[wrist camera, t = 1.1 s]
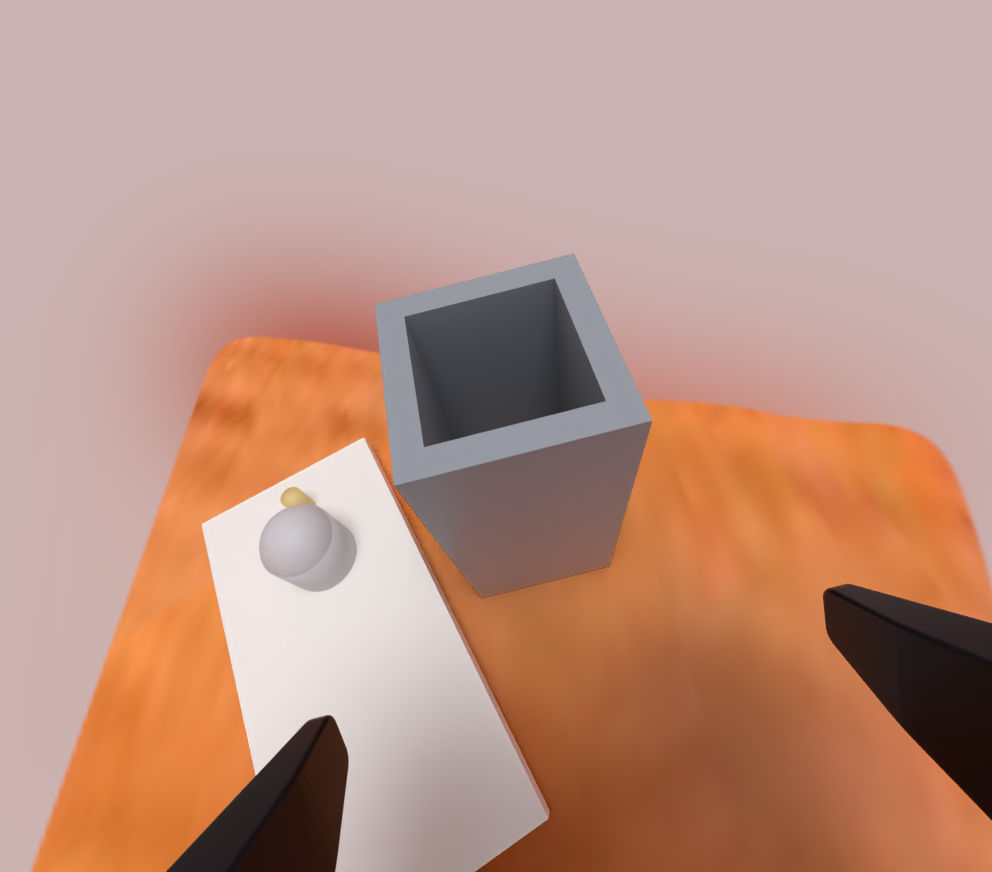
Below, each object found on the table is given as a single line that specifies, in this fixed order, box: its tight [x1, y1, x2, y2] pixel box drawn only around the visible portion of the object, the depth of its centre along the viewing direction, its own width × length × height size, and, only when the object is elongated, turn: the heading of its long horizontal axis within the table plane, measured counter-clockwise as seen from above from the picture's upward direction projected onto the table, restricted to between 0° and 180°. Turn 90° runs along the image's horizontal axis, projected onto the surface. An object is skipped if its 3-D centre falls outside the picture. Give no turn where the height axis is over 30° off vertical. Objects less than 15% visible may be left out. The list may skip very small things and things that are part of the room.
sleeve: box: [375, 254, 652, 598], centre depth 17 cm, size 6×6×12 cm
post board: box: [202, 438, 550, 872], centre depth 19 cm, size 18×9×5 cm, turn 30°
